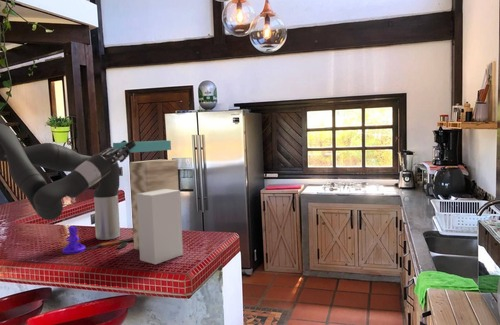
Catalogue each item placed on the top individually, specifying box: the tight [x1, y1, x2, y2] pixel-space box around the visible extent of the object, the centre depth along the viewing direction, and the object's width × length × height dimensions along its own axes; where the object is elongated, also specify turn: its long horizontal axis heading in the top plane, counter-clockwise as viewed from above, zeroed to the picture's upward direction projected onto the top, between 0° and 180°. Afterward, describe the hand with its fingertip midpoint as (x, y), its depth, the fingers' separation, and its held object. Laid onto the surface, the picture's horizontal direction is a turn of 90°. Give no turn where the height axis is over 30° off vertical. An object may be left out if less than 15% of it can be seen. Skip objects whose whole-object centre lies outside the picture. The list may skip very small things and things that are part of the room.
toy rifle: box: [85, 237, 134, 251], centre depth 152 cm, size 34×1×10 cm
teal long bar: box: [112, 140, 172, 154], centre depth 143 cm, size 4×22×4 cm, turn 142°
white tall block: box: [137, 189, 184, 265], centre depth 135 cm, size 8×12×22 cm, turn 142°
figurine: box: [62, 225, 86, 255], centre depth 146 cm, size 8×8×10 cm
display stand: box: [129, 159, 180, 251], centre depth 148 cm, size 10×14×32 cm
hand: (129, 142), depth 139 cm, fingers closed on teal long bar, 4 cm apart
